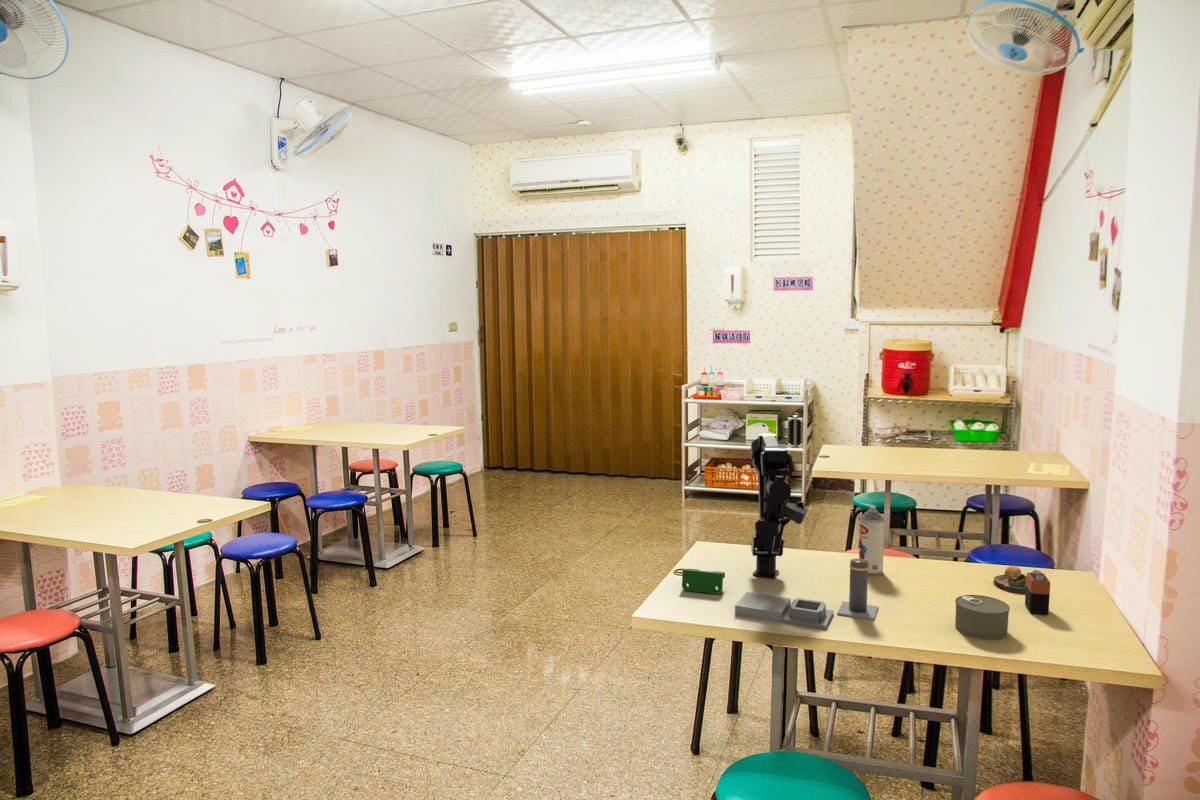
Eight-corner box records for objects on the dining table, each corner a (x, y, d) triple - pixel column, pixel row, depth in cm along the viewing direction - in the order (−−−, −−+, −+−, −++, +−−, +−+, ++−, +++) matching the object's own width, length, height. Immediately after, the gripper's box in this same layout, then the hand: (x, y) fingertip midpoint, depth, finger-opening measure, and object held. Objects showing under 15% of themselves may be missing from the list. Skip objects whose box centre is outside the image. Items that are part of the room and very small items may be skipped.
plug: (846, 606, 209) (847, 558, 207) (863, 606, 209) (865, 558, 207) (851, 613, 204) (852, 564, 203) (869, 612, 204) (871, 564, 203)
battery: (1042, 606, 209) (1044, 570, 208) (1048, 616, 202) (1051, 578, 201) (1024, 604, 210) (1026, 568, 209) (1029, 614, 204) (1032, 576, 203)
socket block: (746, 600, 215) (746, 588, 214) (833, 614, 205) (833, 601, 205) (734, 614, 205) (735, 601, 205) (825, 629, 195) (826, 615, 195)
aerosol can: (855, 568, 241) (857, 503, 238) (877, 567, 241) (880, 503, 238) (863, 575, 234) (865, 509, 232) (886, 575, 234) (888, 509, 232)
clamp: (717, 603, 225) (731, 575, 224) (713, 606, 219) (727, 576, 219) (680, 582, 229) (694, 554, 229) (675, 584, 223) (689, 555, 223)
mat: (842, 602, 213) (842, 601, 212) (878, 608, 209) (878, 606, 209) (837, 614, 204) (837, 612, 204) (873, 620, 201) (873, 618, 201)
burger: (1044, 596, 216) (1045, 570, 216) (996, 592, 220) (997, 566, 220) (1036, 582, 228) (1037, 557, 227) (991, 578, 232) (992, 553, 231)
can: (983, 644, 186) (985, 616, 185) (943, 625, 197) (944, 599, 196) (1019, 635, 191) (1021, 608, 190) (978, 617, 202) (979, 591, 201)
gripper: (797, 504, 204) (796, 562, 206) (811, 489, 221) (810, 543, 223) (754, 500, 209) (754, 557, 211) (771, 485, 226) (771, 538, 227)
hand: (773, 549), depth 218 cm, fingers open, 9 cm apart
